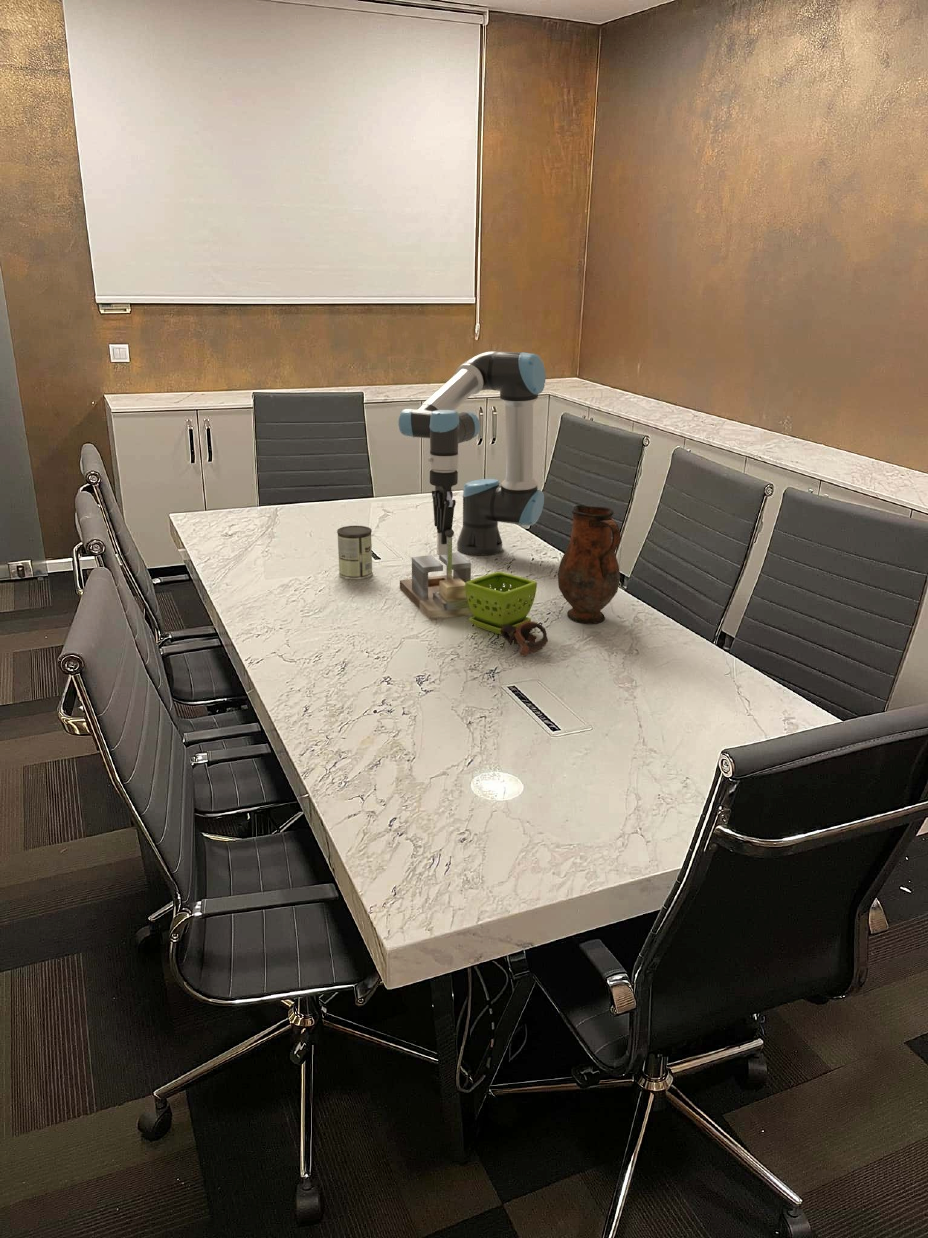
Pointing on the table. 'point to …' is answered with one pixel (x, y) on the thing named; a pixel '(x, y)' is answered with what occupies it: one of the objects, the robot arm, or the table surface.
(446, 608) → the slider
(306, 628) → the table surface
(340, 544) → the coffee can
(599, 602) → the pitcher
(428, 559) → the bench vise
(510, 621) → the flower pot
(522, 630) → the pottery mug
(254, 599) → the table surface
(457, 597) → the block
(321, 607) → the table surface
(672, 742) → the table surface
